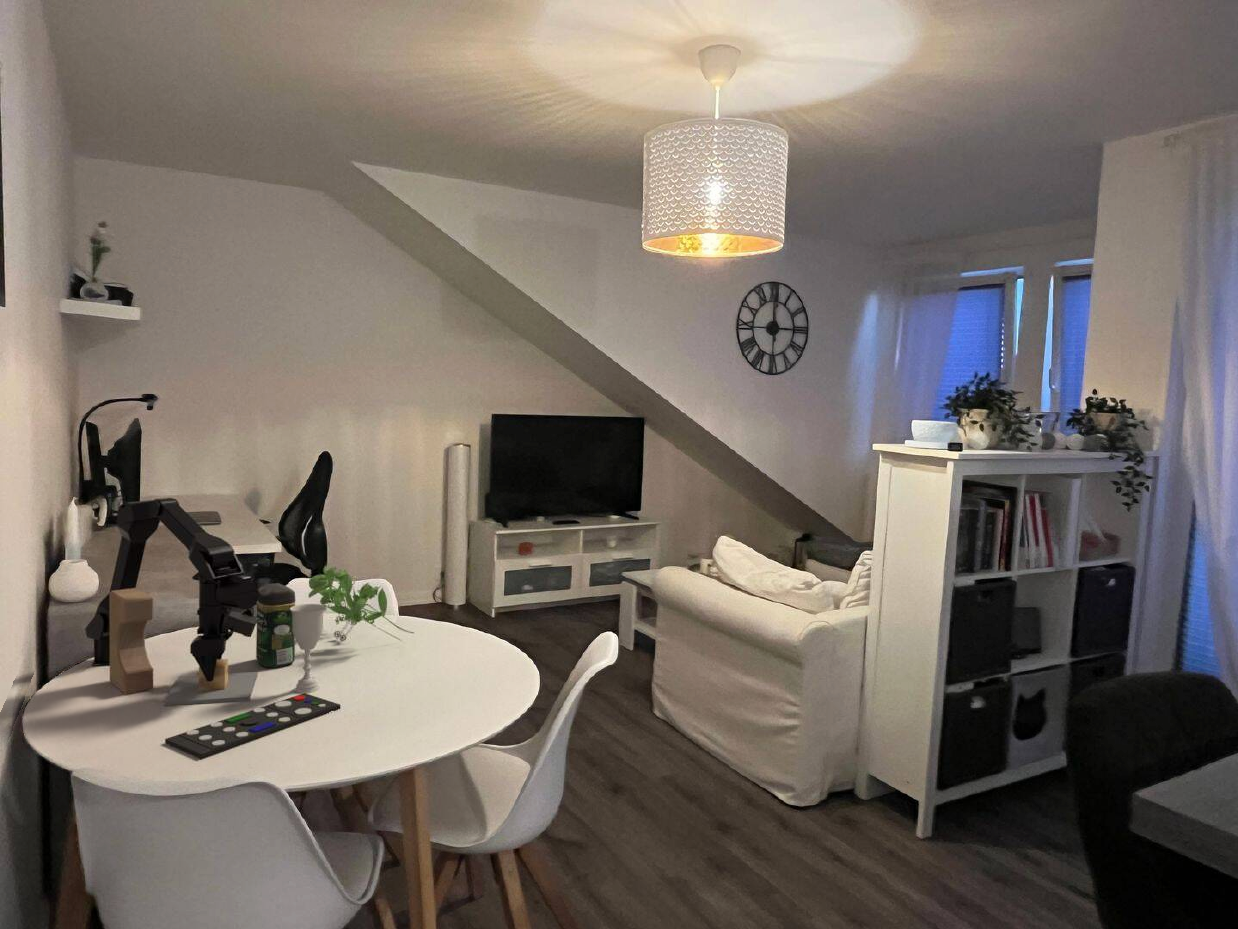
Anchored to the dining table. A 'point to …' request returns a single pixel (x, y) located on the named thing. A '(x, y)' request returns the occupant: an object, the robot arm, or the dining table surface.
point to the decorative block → (130, 640)
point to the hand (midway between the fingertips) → (213, 674)
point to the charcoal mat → (189, 691)
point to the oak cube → (215, 677)
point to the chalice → (307, 639)
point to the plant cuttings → (348, 598)
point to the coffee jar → (275, 626)
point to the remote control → (251, 725)
